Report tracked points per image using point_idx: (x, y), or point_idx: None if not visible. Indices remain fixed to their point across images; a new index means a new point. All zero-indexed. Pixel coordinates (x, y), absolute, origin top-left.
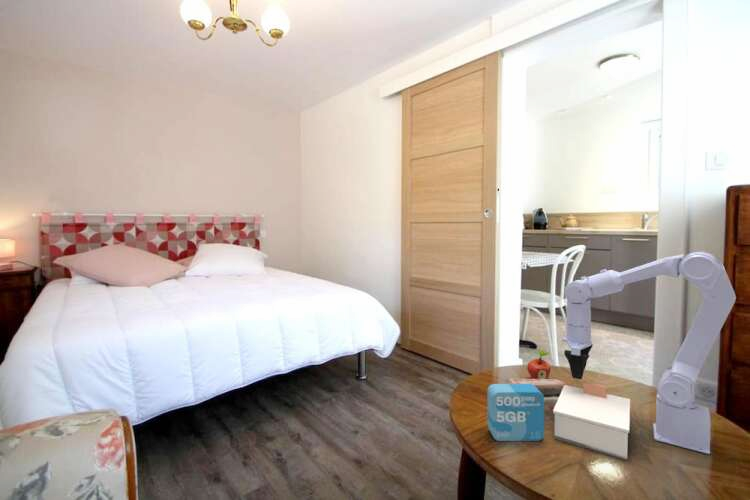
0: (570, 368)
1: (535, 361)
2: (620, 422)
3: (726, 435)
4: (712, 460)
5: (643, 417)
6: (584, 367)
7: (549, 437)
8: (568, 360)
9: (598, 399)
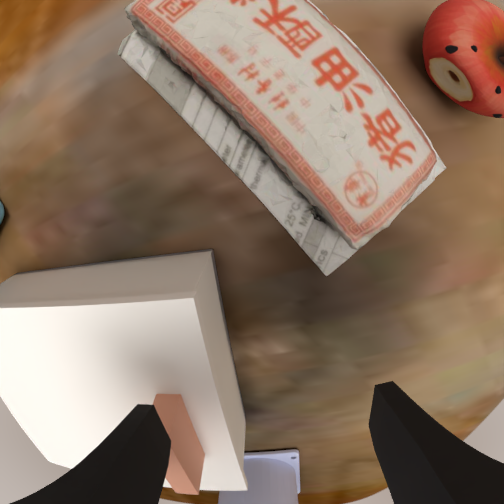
0: (94, 449)
1: (502, 30)
2: (61, 457)
3: (333, 498)
4: (212, 493)
5: (333, 429)
6: (374, 436)
7: (12, 259)
8: (33, 497)
9: None
